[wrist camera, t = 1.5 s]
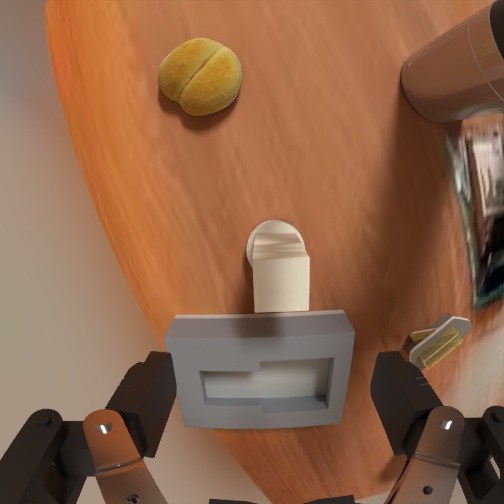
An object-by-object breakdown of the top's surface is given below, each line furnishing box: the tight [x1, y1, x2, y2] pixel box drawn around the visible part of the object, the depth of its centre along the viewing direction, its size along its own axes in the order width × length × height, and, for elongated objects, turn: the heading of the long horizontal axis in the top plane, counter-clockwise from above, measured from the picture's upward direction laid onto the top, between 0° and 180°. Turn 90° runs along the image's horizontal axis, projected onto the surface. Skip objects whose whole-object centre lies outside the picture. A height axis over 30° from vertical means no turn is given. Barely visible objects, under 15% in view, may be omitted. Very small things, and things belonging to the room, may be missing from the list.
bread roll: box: [158, 38, 242, 116], centre depth 27 cm, size 8×9×4 cm
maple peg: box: [246, 219, 310, 313], centre depth 28 cm, size 6×6×12 cm
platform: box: [405, 313, 472, 371], centre depth 33 cm, size 12×18×7 cm, turn 128°
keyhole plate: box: [164, 309, 355, 429], centre depth 35 cm, size 20×14×6 cm
